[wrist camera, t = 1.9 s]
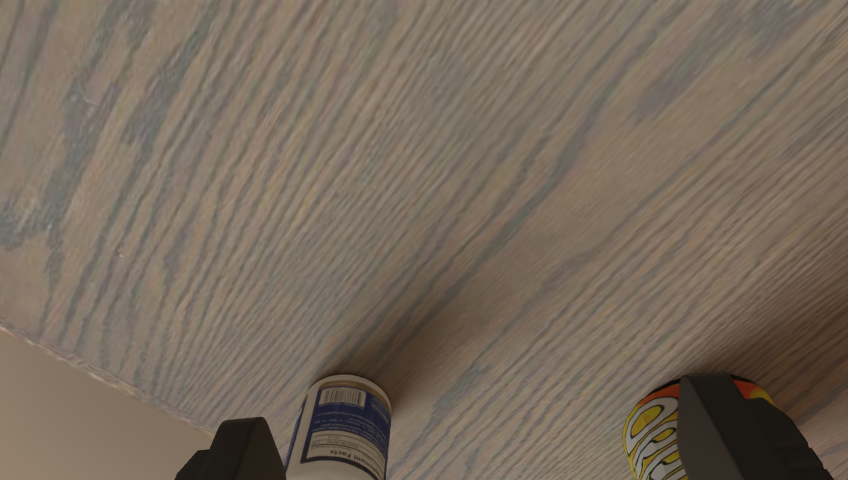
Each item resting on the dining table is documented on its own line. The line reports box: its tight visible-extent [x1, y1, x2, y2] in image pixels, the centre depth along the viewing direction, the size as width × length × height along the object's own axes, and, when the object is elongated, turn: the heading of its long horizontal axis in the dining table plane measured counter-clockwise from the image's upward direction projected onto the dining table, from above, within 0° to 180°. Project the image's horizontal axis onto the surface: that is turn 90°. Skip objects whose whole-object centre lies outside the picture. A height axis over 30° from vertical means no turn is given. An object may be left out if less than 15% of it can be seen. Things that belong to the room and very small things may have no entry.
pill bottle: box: [284, 375, 391, 480], centre depth 31 cm, size 5×5×10 cm
